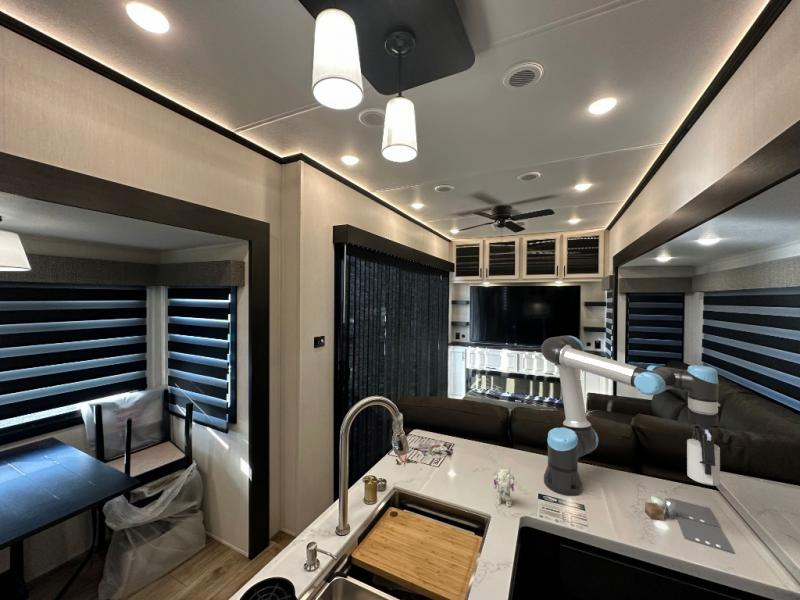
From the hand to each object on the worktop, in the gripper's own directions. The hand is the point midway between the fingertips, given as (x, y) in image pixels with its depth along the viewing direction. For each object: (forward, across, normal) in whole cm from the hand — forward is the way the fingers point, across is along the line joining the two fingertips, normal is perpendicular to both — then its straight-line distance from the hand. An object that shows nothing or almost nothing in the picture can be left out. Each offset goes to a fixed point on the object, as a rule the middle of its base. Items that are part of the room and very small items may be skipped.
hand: (703, 476), depth 108 cm
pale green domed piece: (+20, +10, +11) cm, 25 cm away
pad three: (+20, 0, 0) cm, 20 cm away
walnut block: (+20, +2, +13) cm, 24 cm away
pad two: (+20, +13, 0) cm, 24 cm away
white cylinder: (+1, 0, 0) cm, 1 cm away
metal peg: (+20, +6, +8) cm, 22 cm away
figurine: (+20, -20, +63) cm, 69 cm away
